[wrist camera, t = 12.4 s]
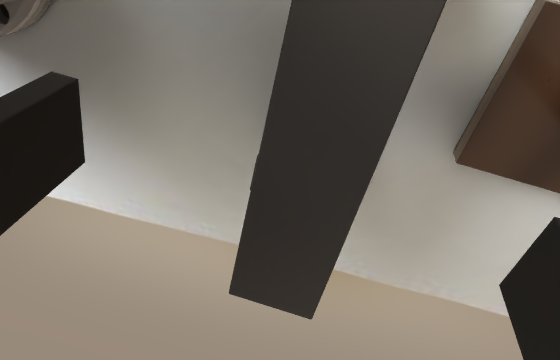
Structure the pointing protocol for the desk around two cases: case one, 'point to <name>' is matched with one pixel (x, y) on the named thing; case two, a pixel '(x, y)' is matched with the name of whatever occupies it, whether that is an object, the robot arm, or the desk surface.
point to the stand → (521, 108)
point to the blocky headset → (325, 140)
